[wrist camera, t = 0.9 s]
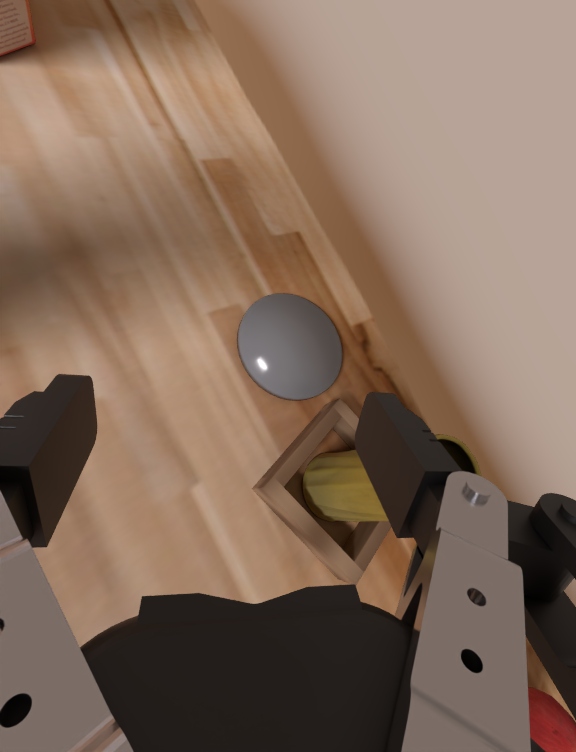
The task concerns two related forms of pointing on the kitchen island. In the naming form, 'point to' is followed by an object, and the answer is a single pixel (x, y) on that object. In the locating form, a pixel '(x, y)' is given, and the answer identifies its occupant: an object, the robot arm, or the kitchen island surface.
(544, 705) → the onion
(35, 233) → the kitchen island surface
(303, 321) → the coaster
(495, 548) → the robot arm
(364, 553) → the square wooden tray
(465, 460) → the vase
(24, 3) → the cracker box
